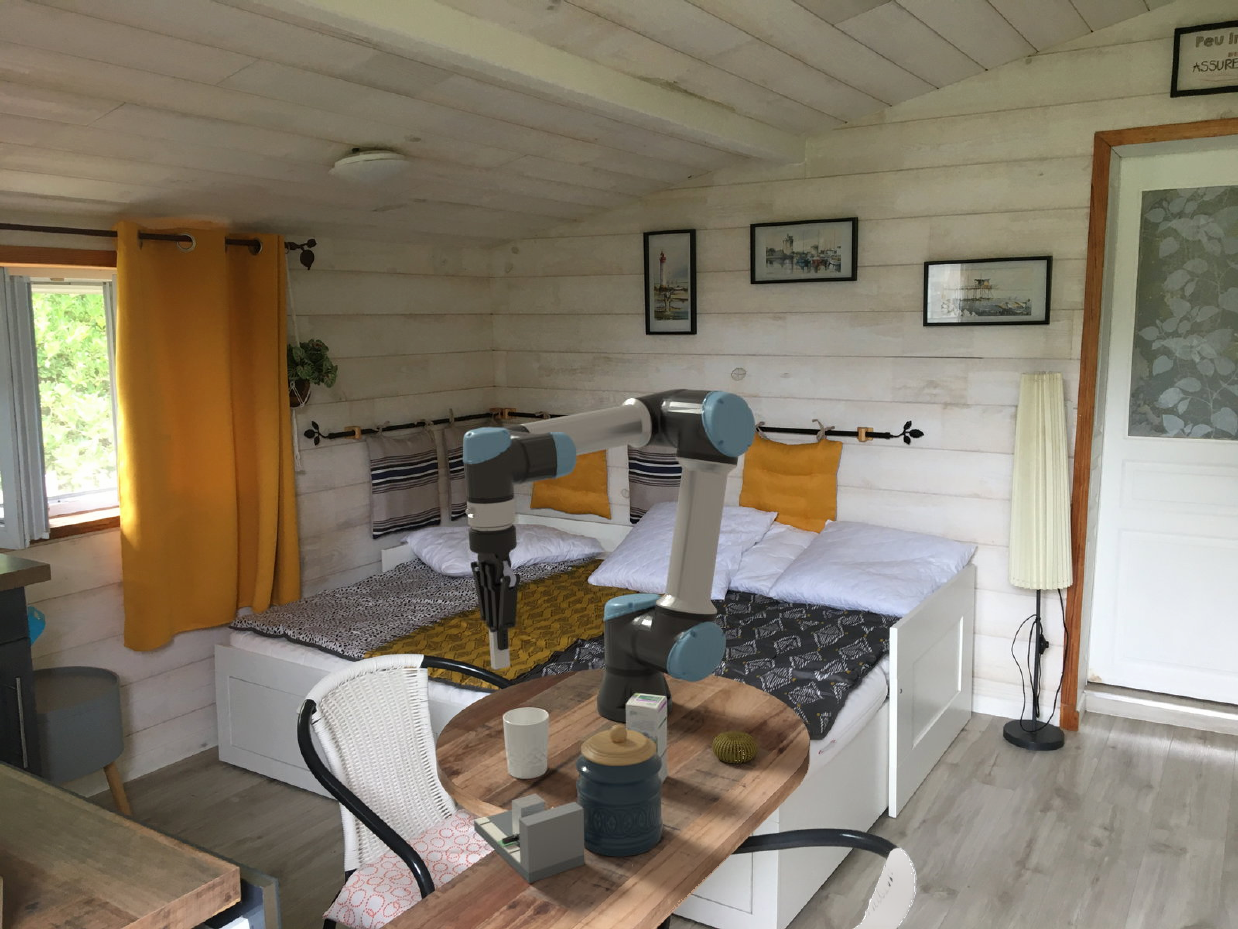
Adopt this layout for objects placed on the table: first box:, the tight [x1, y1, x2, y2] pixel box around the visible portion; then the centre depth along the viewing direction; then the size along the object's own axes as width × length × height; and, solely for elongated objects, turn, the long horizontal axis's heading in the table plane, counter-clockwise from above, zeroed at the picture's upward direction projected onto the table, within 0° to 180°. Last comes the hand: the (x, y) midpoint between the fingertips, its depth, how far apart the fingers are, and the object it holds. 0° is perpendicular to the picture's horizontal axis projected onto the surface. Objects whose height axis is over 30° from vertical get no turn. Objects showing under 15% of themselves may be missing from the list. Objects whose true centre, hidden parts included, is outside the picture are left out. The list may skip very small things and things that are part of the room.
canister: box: [575, 724, 664, 857], centre depth 153 cm, size 13×13×18 cm
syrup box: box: [625, 693, 669, 784], centre depth 172 cm, size 6×6×14 cm
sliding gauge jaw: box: [502, 793, 546, 845], centre depth 150 cm, size 3×6×6 cm, turn 123°
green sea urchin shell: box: [711, 730, 758, 764], centre depth 181 cm, size 8×4×8 cm
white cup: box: [502, 706, 550, 780], centre depth 176 cm, size 8×8×10 cm
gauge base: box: [473, 801, 586, 884], centre depth 151 cm, size 18×9×8 cm, turn 33°
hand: (500, 666), depth 166 cm, fingers closed
